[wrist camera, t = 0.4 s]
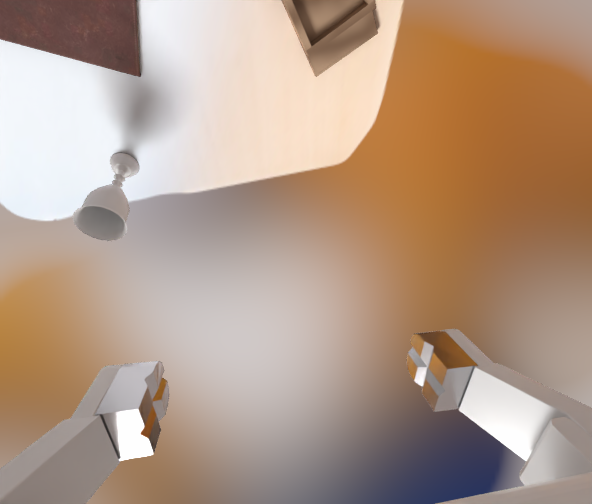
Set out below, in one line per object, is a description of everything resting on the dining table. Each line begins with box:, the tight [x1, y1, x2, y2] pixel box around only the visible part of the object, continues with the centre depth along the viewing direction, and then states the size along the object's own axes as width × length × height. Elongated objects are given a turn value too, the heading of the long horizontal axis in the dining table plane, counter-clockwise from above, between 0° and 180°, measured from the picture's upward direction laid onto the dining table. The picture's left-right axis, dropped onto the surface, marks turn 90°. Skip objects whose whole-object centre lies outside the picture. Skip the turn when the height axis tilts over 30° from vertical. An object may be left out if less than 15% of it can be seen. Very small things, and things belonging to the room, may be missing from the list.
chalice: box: [73, 153, 139, 241], centre depth 49 cm, size 7×7×18 cm
